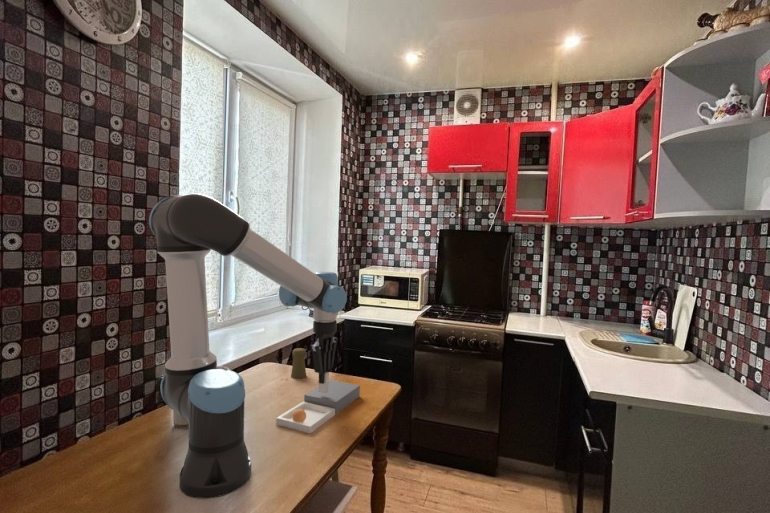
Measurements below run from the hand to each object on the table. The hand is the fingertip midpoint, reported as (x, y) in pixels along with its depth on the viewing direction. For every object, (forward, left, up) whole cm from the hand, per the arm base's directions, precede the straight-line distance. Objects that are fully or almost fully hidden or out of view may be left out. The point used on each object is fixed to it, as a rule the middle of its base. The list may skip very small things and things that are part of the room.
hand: (323, 391), depth 131 cm
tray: (-9, 0, -5) cm, 11 cm away
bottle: (-28, +29, -6) cm, 41 cm away
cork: (+21, +25, -6) cm, 33 cm away
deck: (+6, 0, -5) cm, 8 cm away
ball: (-13, 0, -3) cm, 13 cm away
